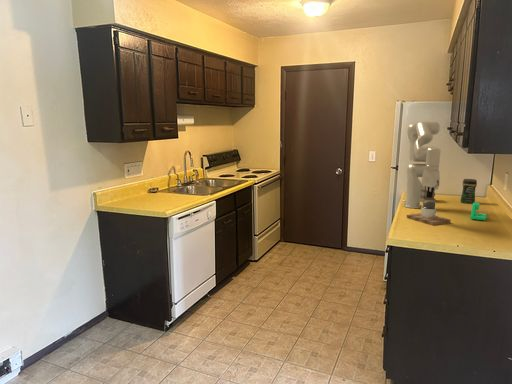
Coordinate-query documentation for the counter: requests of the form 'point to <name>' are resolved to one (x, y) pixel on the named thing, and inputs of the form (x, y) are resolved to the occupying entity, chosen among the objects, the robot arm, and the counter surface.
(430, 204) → the grey sphere
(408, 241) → the counter surface
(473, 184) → the coffee jar
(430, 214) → the pipe flange plate
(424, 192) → the tankard
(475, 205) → the camera mount
